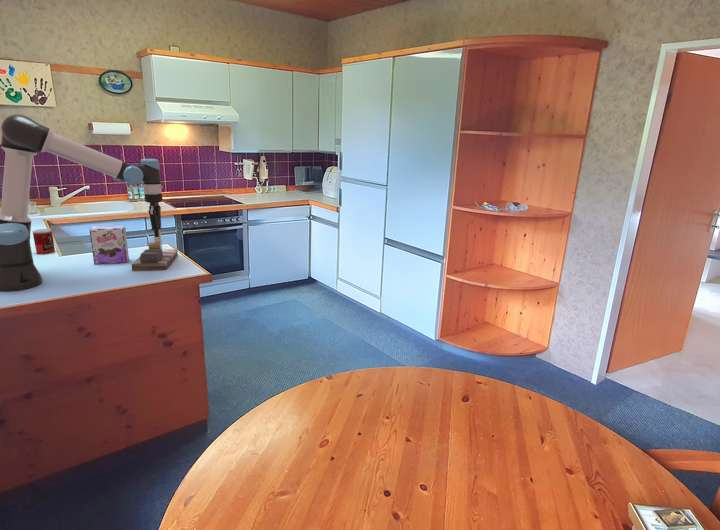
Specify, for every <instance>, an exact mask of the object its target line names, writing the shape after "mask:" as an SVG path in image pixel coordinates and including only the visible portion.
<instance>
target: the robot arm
mask: <svg viewBox="0 0 720 530" xmlns="http://www.w3.org/2000/svg"><path fill="white" fill-rule="evenodd" d="M0 130H1V143H0V148H1V149H2V150H3V151H4V152H5V155H4V164H3V165H4V167H3V180H2V189H1V191H2V192H1V202H0V203H1V204H0V292H13V291H19V290H20V291H21V290H26V289H31V288H34V287H38V286H40V285H41V284H42V283H43V278H42V275H41V273H40V271H39V270H38V268H37V267H36V265H35V262H34V259H33V252H32V247H31V231H32V219H31V218H30V217H29V216H28V209H29V201H30V190H31V180H32V179H31V178H32V171H33V158H34V157H35V156H36V155H38V153H44V152H47V153H50V154H53V155H55V156H57V157H60V158H62V159H65V160H68V161H71V162H73V163H76V164H77V165H80V166H83V167H86V168H89V169H91V170H94V171H96V172H99V173H102V174H104V175H107V176H110V177H112V179H113V181H114V182H125V183H126V184H129V185H132V186H133V185H135V186H136V185H138V184H140V183H141V182H142V184H143V186H142V187H143V193H144V194H143V195H144V202H145V203H148V204H149V207H148V214H149V218H150V224H151V226H150V227H151V229H150V230H151V231H153V237H154V238H153V239H154V242H161V244H162V242H163V241H162V233H161V232H162V231H161V230H162V229H163V227H162V215H161V214H162V212H161V210H162V208H161V207H162V206H160V204H159V203H163V201H164V198H163V194H162V192H163V191H162V189H163V186H162V181H161V168H160V167H161V166H160V163H159V160H158V159H156V158H142V159H140V163H128V162H125V161H123V160H120V159H118V158H116V157H113V156H111V155H109V154H105V153H103V152H101V151H98V150H96V149H93V148H91V147H89V146H87V145H84V144H81V143H79V142H77V141H74V140H72V139H69V138H66V137H65V136H62V135H60V134H57V133H54V131H53V130H52V128H49V127H46V126H44V125H43V124H41V123H39V122H37V121H36V120H34V119H32V118H31V117H29V116H26V115H25V114H11V115H9V116H7V117H6V118H5V119H3V121H2V122H1V129H0Z"/></svg>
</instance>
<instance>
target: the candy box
mask: <svg viewBox="0 0 720 530" xmlns="http://www.w3.org/2000/svg"><path fill="white" fill-rule="evenodd" d="M126 230H127V229H126V226H125V225H122V226H92V227H91V228H89V235H90V242H91V250H92V258H93V264H94V265H101V264H102V265H103V264H104V265H107V264H127V263H128V262H129V261H130V256H129V247H128V246H129V245H128V239H127V231H126Z"/></svg>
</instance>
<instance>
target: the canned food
mask: <svg viewBox="0 0 720 530" xmlns="http://www.w3.org/2000/svg"><path fill="white" fill-rule="evenodd" d="M32 235H33V242H34V247H35V251H36V253H37V254H38V255H49V254H53V253H55V250H56V249H55V242H54V236H53V231H52V229H50V228H48V229H47V228H42V229H40V228H39V229H35V230H33V231H32Z"/></svg>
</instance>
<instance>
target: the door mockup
mask: <svg viewBox="0 0 720 530" xmlns="http://www.w3.org/2000/svg"><path fill="white" fill-rule="evenodd" d="M178 253H179V252H178V249H177V248H173V249H172V248H171V249H163V248H162V249H149V248H146V249H144V250H143V252H141V253H140V256H139V257H138V258H137V259H135V260H134V261H133V262H132V263H131V271H132V272H139V271H141V272H143V271H144V272H145V271H167V270H168V268H169V267H170V265H171V264H172V263H173V262H174V261H175V259H176V258H177V257H178Z"/></svg>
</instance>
